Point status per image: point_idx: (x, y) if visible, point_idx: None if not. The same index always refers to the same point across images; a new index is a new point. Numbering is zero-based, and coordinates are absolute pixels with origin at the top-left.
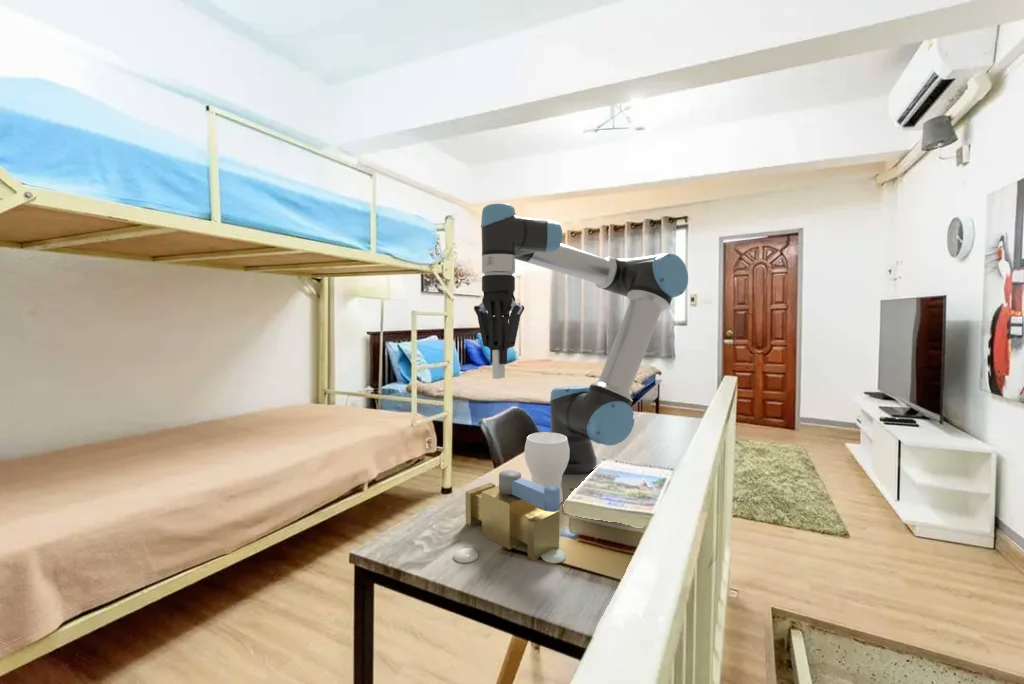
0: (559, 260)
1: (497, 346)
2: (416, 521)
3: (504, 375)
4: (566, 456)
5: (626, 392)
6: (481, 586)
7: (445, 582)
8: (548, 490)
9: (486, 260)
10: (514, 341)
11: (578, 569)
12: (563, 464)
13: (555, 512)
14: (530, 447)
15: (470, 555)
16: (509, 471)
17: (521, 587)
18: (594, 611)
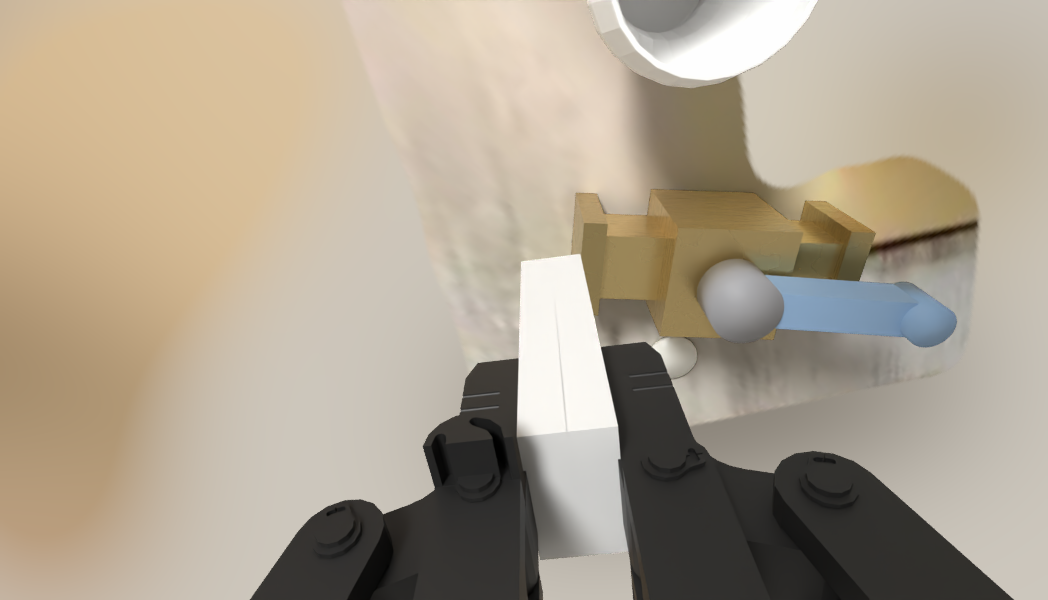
0: None
1: (529, 518)
2: (470, 339)
3: (581, 264)
4: None
5: None
6: (759, 393)
7: (699, 421)
8: (927, 341)
9: None
10: (925, 550)
11: (901, 245)
12: None
13: (870, 247)
14: (676, 82)
15: (682, 355)
16: (732, 297)
17: (823, 354)
18: (967, 324)
